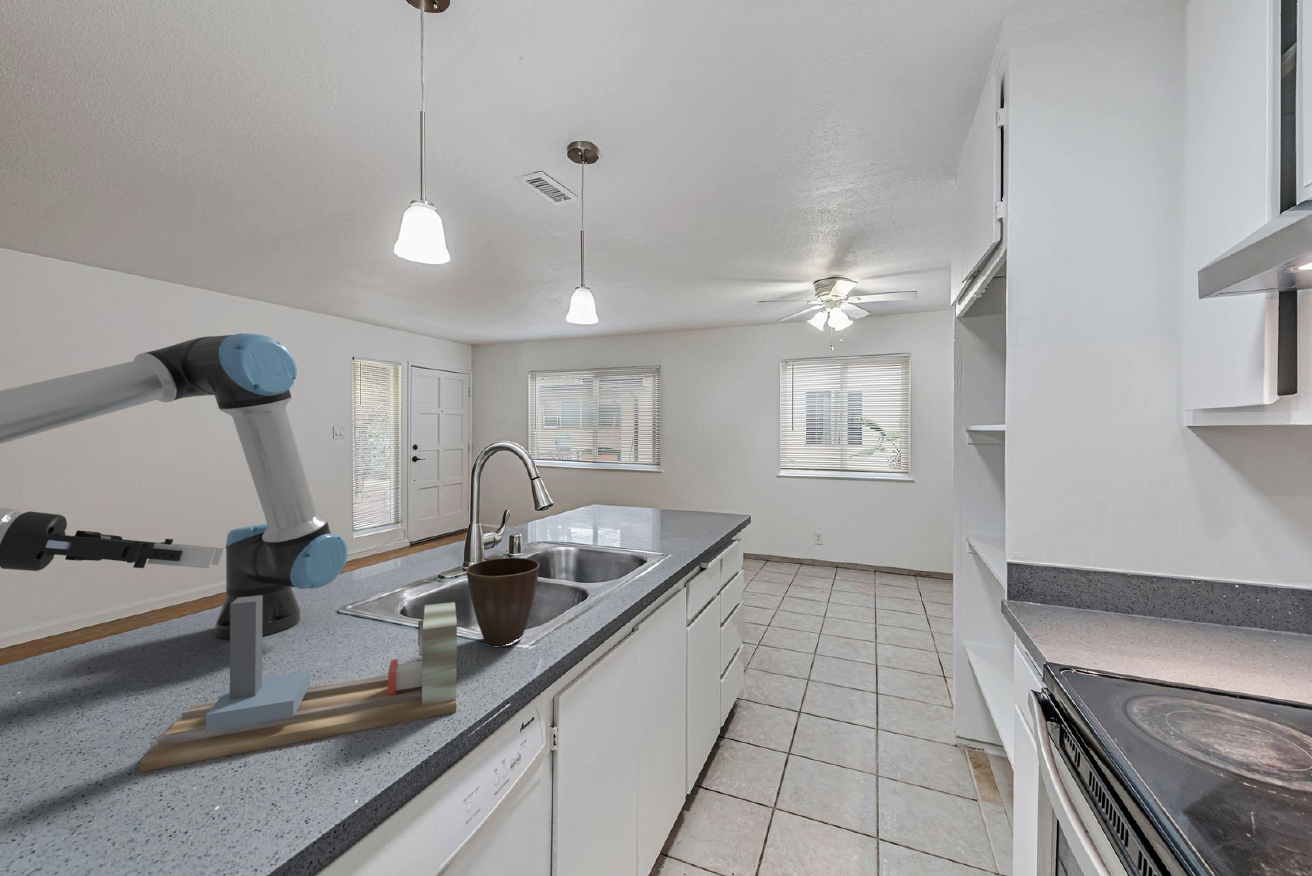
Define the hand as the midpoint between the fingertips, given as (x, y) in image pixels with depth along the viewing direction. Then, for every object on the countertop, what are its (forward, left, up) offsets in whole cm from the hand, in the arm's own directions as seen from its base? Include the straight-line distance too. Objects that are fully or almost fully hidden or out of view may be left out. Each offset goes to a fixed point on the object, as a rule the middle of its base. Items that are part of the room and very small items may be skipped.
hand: (217, 557), depth 78 cm
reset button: (+5, +28, -23) cm, 36 cm away
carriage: (+5, +7, -22) cm, 24 cm away
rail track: (+5, +15, -25) cm, 30 cm away
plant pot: (-14, +44, -25) cm, 53 cm away
